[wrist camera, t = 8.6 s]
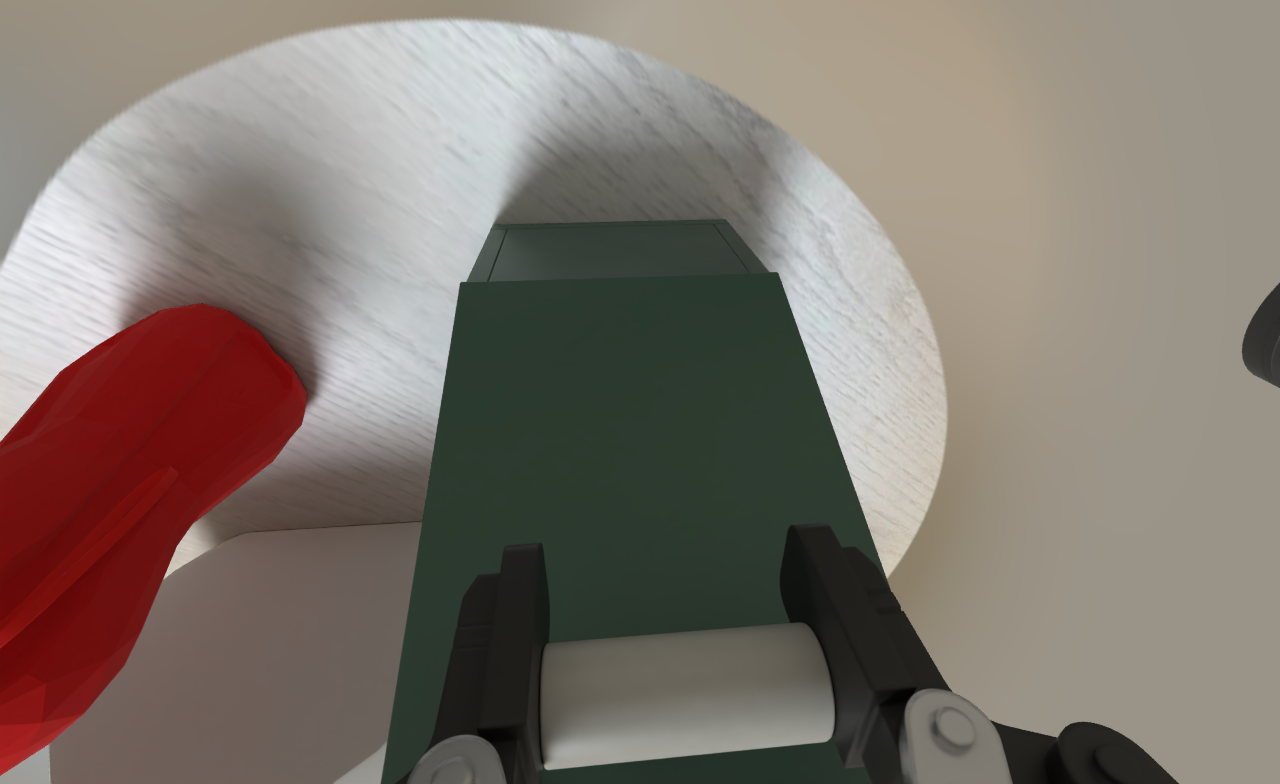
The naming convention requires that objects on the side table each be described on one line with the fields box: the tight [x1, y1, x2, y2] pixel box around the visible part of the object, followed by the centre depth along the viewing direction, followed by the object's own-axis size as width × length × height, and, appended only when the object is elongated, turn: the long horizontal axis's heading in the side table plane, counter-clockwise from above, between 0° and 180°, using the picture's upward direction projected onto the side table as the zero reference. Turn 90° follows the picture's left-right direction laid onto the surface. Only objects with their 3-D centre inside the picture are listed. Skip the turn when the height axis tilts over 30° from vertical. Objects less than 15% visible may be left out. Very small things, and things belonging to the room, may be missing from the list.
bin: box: [466, 219, 769, 282], centre depth 31 cm, size 17×13×9 cm
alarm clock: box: [48, 522, 422, 784], centre depth 34 cm, size 21×8×20 cm, turn 90°
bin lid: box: [381, 272, 891, 784], centre depth 16 cm, size 18×13×5 cm
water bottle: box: [0, 303, 307, 775], centre depth 23 cm, size 9×11×25 cm
